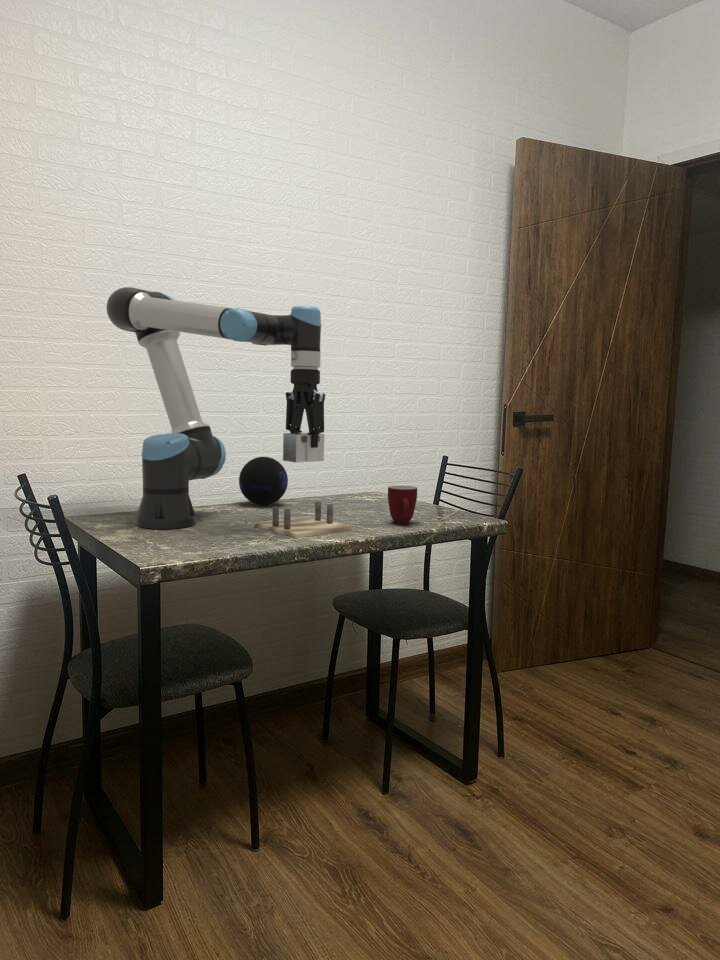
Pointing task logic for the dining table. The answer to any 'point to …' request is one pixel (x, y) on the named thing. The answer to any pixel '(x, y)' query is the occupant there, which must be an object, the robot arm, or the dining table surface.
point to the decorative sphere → (263, 480)
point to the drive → (300, 447)
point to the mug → (402, 503)
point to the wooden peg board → (303, 523)
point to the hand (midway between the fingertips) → (304, 459)
